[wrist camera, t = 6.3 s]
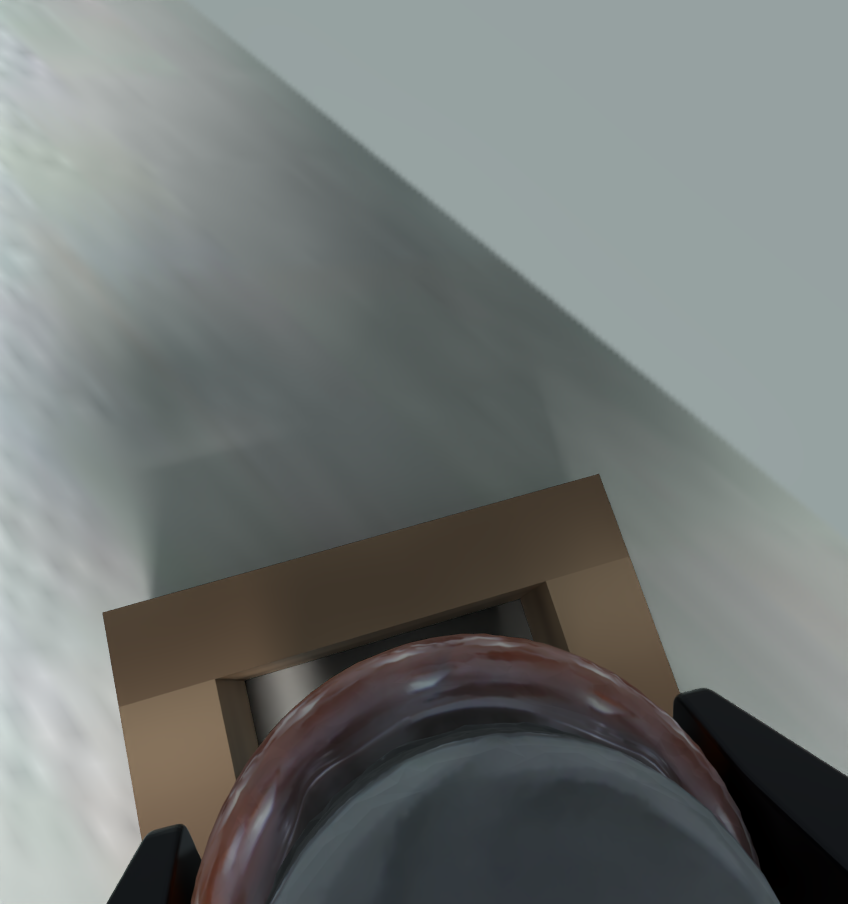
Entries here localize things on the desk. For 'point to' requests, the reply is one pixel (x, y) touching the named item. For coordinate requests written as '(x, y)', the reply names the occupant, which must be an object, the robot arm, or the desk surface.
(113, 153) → the desk surface
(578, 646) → the walnut pocket block
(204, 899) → the supplement bottle
